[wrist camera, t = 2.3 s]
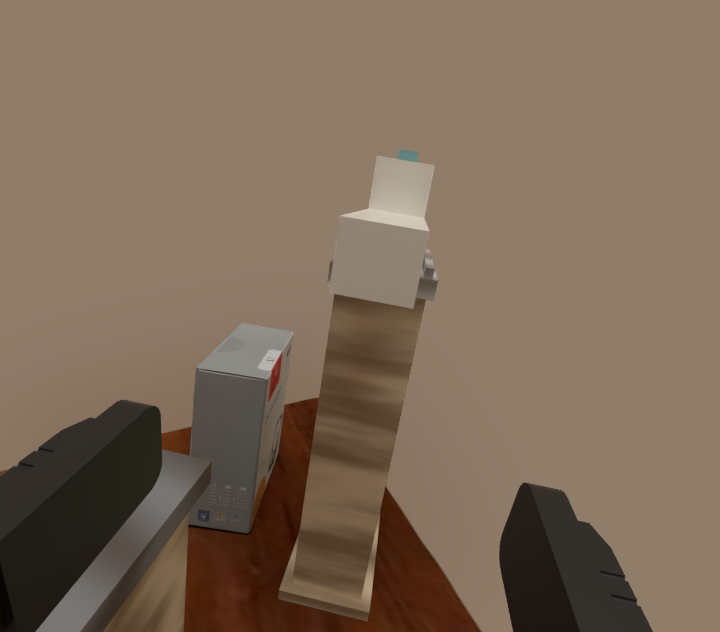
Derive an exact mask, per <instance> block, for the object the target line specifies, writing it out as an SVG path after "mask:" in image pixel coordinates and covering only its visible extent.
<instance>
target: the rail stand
mask: <svg viewBox="0 0 720 632" xmlns="http://www.w3.org/2000/svg"><path fill="white" fill-rule="evenodd" d="M332 266H333V260H332V261H331V262H330V267H329V275H328V281H330V280H331V273H332ZM437 283H438V280H437V276H436V272H435V268H434V265H433V261H432V257H431V253H430V250H429V249H426V251H425V255H424V260H423V265H422V270H421V275H420V279H419V284H418V289H417V294H416V298H415V303H414V308H413V309H411V308H406V307H401V306H395V305H390V304H385V303H380V302H374V301H369V300H364V299H359V298H353V297H348V296H343V295H338V294H334V301H333V308H332V314H331V321H330V328H329V334H328V341H327V348H326V355H325V362H324V368H323V375H322V383H321V389H320V396H319V402H318V409H317V416H316V423H315V430H314V436H313V443H312V450H311V457H310V464H309V471H308V477H307V484H306V491H305V498H304V505H303V511H302V518H301V525H300V531H299V534H298V537H297V540H296V543H295V546H294V549H293V551H292V554H291V557H290V560H289V563H288V566H287V569H286V572H285V575H284V577H283V580H282V583H281V586H280V589H279V595H278V599H280V600H283V601H287V602H291V603H295V604H299V605H303V606H307V607H311V608H315V609H319V610H323V611H327V612H331V613H335V614H339V615H343V616H347V617H351V618H355V619H359V620H363V621H368V617H369V612H370V603H371V594H372V585H373V576H374V567H375V558H376V549H377V540H378V531H379V522H380V508H381V504H382V499H383V495H384V490H385V485H386V480H387V476H388V472H389V467H390V462H391V457H392V453H393V448H394V444H395V439H396V435H397V430H398V425H399V420H400V416H401V411H402V406H403V402H404V398H405V393H406V388H407V383H408V379H409V375H410V370H411V365H412V360H413V356H414V351H415V347H416V342H417V337H418V332H419V328H420V324H421V319H422V314H423V310H424V305H425V300H431V301H433V300H434V296H435V292H436V287H437Z"/></svg>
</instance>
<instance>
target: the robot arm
mask: <svg viewBox="0 0 720 632" xmlns="http://www.w3.org/2000/svg"><path fill="white" fill-rule="evenodd" d="M161 468H162V439H161V415H160V411H159V409H158V408H157V407H156V406H151V405H147V404H142V403H137V402H132V401H128V400H120V401H118V402H116V403H115V404H113V405H112V406H111V407H109V408H108V409H107V410H106V411H104V412H103V413H102V414H101V415H99V416H98V417H97V418H96V419H95V418H88V419H86V420H84V421H82V422H79V423H77V424H75V425H72V426H70V427H68V428H66V429H63V430H61V431H60V432H59V433H58V434H56V435H55V436H53V437H52V438H51V439H50V440H48V441H47V442H45V443H44V444H43V445H41V446H40V447H39V449H38V451H34V452H32V453H31V454H29V455H28V456H27V457H25V458H24V459H23V460H21V461H20V462H19V464H18V466H17V467H15V466H13V467H12V468H10V469H9V470H8V471H6V472H5V473H4V474H2V475H1V476H0V632H36V631H37V629H38V628H39V627H40V626H41V624H42V623H43V622H44V621H45V620H46V618H47V617H48V616H49V615H50V613H51V612H52V611H53V610H54V609H55V607H56V606H57V605H58V604H59V603H60V601H61V600H62V599H63V598H64V596H65V595H66V594H67V593H68V592H69V590H70V589H71V588H72V587H73V585H74V584H75V583H76V582H77V581H78V579H79V578H80V577H81V576H82V574H83V573H84V572H85V571H86V570H87V568H88V567H89V566H90V565H91V563H92V562H93V561H94V560H95V559H96V557H97V556H98V555H99V554H100V552H101V551H102V550H103V549H104V548H105V546H106V545H107V544H108V543H109V541H110V540H111V539H112V538H113V537H114V535H115V534H116V533H117V532H118V531H119V529H120V528H121V527H122V526H123V524H124V523H125V522H126V521H127V520H128V518H129V517H130V516H131V515H132V513H133V512H134V511H135V510H136V509H137V507H138V506H139V505H140V504H141V502H142V501H143V500H144V499H145V498H146V496H147V495H148V494H149V493H150V491H151V490H152V489H153V487H154V486H155V484H156V482H157V480H158V477H159V475H160V472H161ZM499 552H500V553H499V555H500V556H499V557H500V567H501V574H502V579H503V583H504V588H505V593H506V598H507V603H508V608H509V613H510V618H511V623H512V628H513V632H653V631H652V629H651V627H650V625H649V623H648V621H647V619H646V617H645V615H644V613H643V611H642V609H641V607H640V606H637V599H636V597H635V595H634V593H633V591H632V589H631V587H630V585H629V583H628V582H627V581H625V575H624V573H623V571H622V569H621V567H620V565H619V563H618V561H617V559H616V557H615V555H614V553H613V551H612V549H611V548H610V546H608V544H607V543H606V542H605V541H604V540H603V539H602V537H601V536H600V535H599V534H598V533H597V532H596V531H595V529H594V528H593V527H592V526H591V525H590V524H589V523H586V522H581V521H578V520H577V518H576V516H575V514H574V511H573V509H572V507H571V505H570V502H569V500H568V498H567V496H566V495H565V493H564V492H563V491H561V490H558V489H553V488H548V487H543V486H539V485H534V484H529V483H523V484H522V485H521V486H520V488H519V490H518V493H517V496H516V498H515V501H514V504H513V507H512V509H511V512H510V514H509V517H508V520H507V522H506V525H505V528H504V530H503V533H502V537H501V541H500V551H499Z"/></svg>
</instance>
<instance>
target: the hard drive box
mask: <svg viewBox="0 0 720 632" xmlns="http://www.w3.org/2000/svg"><path fill="white" fill-rule="evenodd" d="M293 334H294V332H292V331H286V330H281V329H275V328H269V327H262V326H256V325H250V324H244V323H242V324H240V325H239V326H238V327H237V328H236V329H235V330H234V331H233V332H232V333H231V334H230V335H229V336H228V337H227V338H226V339H225V340H224V341H223V342H222V343H221V344H220V345H219V346H218V347H217V348H216V349H215V350H214V351H213V352H212V353H211V354H210V355H209V356H208V357H207V358H206V359H205V360H204V361H203V362H202V363H201V364H200V365H199V366H198V367H197V368H196V373H195V386H194V402H193V417H192V432H191V446H190V456H193V457H197V458H201V459H206V460H210V461H212V469H211V482H210V484H209V485H208V486H207V488H206V489H205V491H204V492H203V493H202V495H201V496H200V497H199V499H198V500H197V502H196V503H195V504H194V506H193V507H192V509H191V510H190V511H189V521H188V525H194V526H201V527H208V528H214V529H221V530H228V531H234V532H241V533H249V532H250V530H251V527H252V524H253V522H254V519H255V516H256V514H257V511H258V508H259V505H260V502H261V499H262V497H263V494H264V491H265V488H266V486H267V483H268V480H269V477H270V475H271V472H272V469H273V466H274V464H275V461H276V458H277V455H278V450H279V442H280V435H281V427H282V418H283V410H284V402H285V394H286V386H287V379H288V371H289V363H290V355H291V348H292V340H293Z"/></svg>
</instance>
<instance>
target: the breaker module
mask: <svg viewBox="0 0 720 632" xmlns="http://www.w3.org/2000/svg"><path fill="white" fill-rule="evenodd" d="M417 159H418V152H412V151H406V150H400V149H399V154H398V159H393V158H387V157H381V156H377V159H376V165H375V171H374V177H373V183H372V190H371V196H370V202H369V208H368V209H365V210H361V211H357V212H353V213H349V214H345V215H340V217H339V224H338V232H337V238H336V245H335V252H334V259H333V266H332V273H331V280H330V287H329V293H333V294H338V295H343V296H348V297H353V298H359V299H364V300H369V301H374V302H380V303H385V304H390V305H395V306H401V307H406V308H411V309H413V308H414V303H415V298H416V294H417V289H418V284H419V279H420V275H421V270H422V265H423V260H424V255H425V251H426V245H427V240H428V236H429V229H428V227H427V224H426V222H425V219H424V216H425V211H426V206H427V201H428V197H429V192H430V187H431V182H432V177H433V172H434V167H435V165H431V164H424V163H418V162H417Z"/></svg>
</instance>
